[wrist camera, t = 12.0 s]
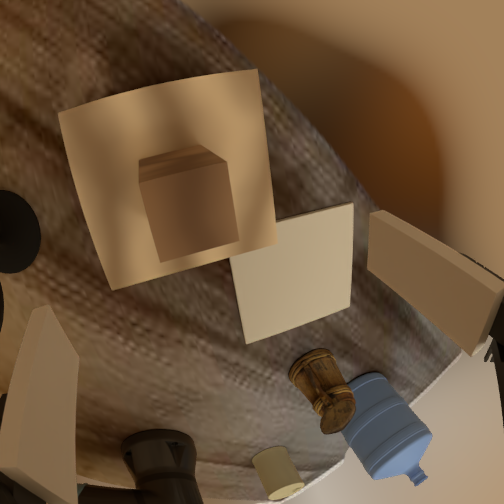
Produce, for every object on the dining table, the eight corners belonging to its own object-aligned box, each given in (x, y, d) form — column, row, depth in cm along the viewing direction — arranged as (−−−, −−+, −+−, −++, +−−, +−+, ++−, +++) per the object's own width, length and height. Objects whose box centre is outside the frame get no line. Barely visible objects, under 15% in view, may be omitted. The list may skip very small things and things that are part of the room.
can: (278, 461, 72) (296, 496, 62) (247, 466, 68) (263, 504, 58) (291, 443, 69) (312, 480, 58) (258, 448, 65) (277, 489, 55)
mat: (245, 341, 47) (246, 344, 47) (224, 234, 38) (225, 236, 38) (347, 304, 51) (349, 306, 51) (350, 201, 43) (353, 203, 42)
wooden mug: (309, 327, 51) (370, 408, 36) (338, 360, 58) (391, 427, 43) (266, 361, 51) (315, 448, 36) (302, 388, 58) (347, 459, 43)
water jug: (318, 400, 62) (386, 502, 39) (378, 359, 63) (457, 449, 40) (334, 423, 71) (390, 506, 47) (385, 388, 72) (448, 464, 48)
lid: (112, 283, 28) (109, 350, 20) (61, 112, 20) (22, 118, 12) (273, 238, 32) (319, 287, 24) (252, 70, 24) (304, 58, 16)
